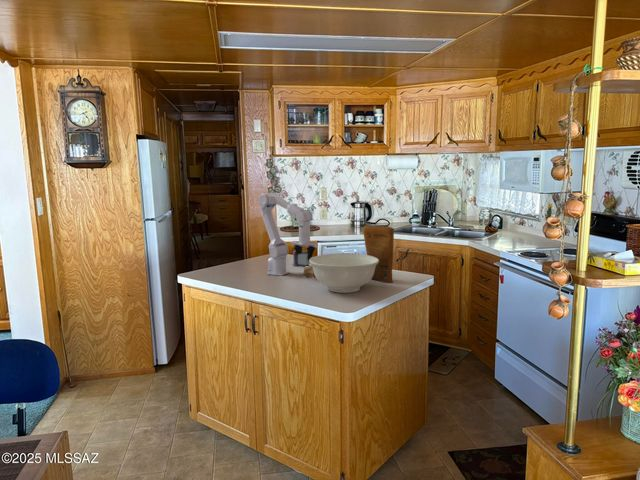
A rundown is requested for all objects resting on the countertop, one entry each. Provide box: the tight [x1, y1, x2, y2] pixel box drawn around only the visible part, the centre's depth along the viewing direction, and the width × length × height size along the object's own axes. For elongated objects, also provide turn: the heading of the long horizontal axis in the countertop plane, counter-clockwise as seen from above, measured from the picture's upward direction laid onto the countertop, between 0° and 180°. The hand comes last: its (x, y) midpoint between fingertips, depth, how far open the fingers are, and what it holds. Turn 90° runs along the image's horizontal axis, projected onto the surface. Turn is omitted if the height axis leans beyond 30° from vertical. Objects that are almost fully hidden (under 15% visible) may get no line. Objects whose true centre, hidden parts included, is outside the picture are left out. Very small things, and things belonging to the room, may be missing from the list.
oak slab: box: [303, 265, 314, 274], centre depth 250 cm, size 6×6×2 cm
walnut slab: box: [302, 272, 316, 278], centre depth 251 cm, size 6×6×2 cm
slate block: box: [298, 253, 311, 265], centre depth 245 cm, size 5×5×5 cm
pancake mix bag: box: [362, 225, 395, 283], centre depth 238 cm, size 7×19×28 cm, turn 40°
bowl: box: [309, 252, 379, 294], centre depth 223 cm, size 32×32×15 cm
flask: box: [292, 249, 310, 267], centre depth 275 cm, size 9×3×11 cm, turn 76°
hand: (304, 260), depth 245 cm, fingers closed on slate block, 5 cm apart
